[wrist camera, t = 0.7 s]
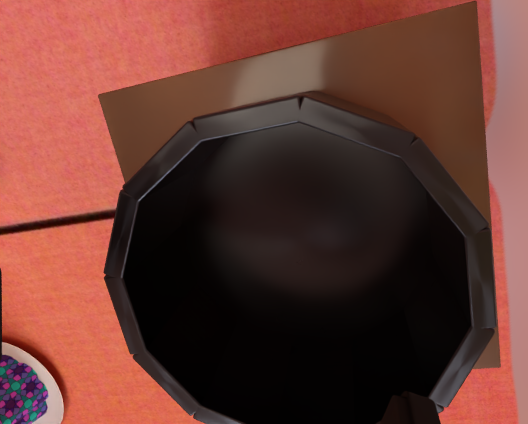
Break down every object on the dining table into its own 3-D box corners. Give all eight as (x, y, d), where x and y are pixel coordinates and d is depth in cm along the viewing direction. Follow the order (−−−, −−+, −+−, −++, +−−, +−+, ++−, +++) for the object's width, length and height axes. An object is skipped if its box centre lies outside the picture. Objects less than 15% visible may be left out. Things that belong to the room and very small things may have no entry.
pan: (145, 126, 15) (57, 146, 10) (429, 65, 13) (482, 55, 8) (256, 520, 20) (231, 652, 16) (472, 527, 18) (518, 684, 13)
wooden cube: (405, 42, 25) (477, -1, 12) (427, 236, 29) (501, 367, 15) (210, 88, 28) (96, 94, 15) (251, 259, 32) (188, 385, 18)
